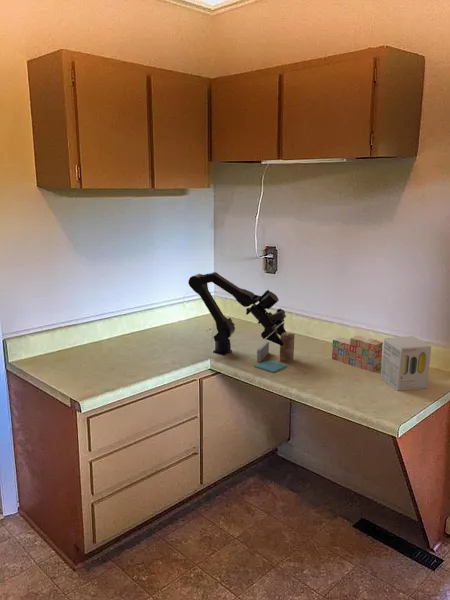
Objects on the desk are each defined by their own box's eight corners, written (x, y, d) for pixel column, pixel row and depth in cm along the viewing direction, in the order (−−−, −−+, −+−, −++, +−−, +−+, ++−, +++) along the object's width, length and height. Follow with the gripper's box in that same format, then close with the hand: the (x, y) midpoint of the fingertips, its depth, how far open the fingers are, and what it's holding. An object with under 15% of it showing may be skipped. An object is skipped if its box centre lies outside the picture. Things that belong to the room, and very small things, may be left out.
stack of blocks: (331, 359, 243) (332, 333, 240) (339, 356, 247) (341, 330, 244) (373, 372, 228) (375, 344, 225) (381, 368, 232) (383, 341, 229)
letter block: (279, 361, 239) (280, 335, 236) (282, 358, 243) (283, 332, 241) (290, 363, 237) (291, 336, 234) (293, 359, 242) (294, 333, 239)
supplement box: (397, 391, 208) (401, 348, 204) (379, 378, 221) (383, 337, 217) (427, 388, 211) (432, 345, 207) (409, 376, 224) (413, 335, 220)
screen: (256, 361, 238) (257, 349, 237) (265, 352, 250) (265, 341, 249) (260, 362, 238) (260, 350, 237) (268, 353, 250) (268, 341, 248)
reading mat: (254, 366, 232) (254, 365, 232) (268, 361, 239) (268, 359, 239) (273, 372, 226) (273, 371, 225) (287, 366, 233) (287, 365, 233)
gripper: (268, 309, 228) (293, 337, 227) (280, 299, 245) (303, 325, 244) (250, 325, 233) (275, 352, 231) (263, 314, 250) (286, 340, 248)
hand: (285, 342), depth 239 cm, fingers open, 9 cm apart
